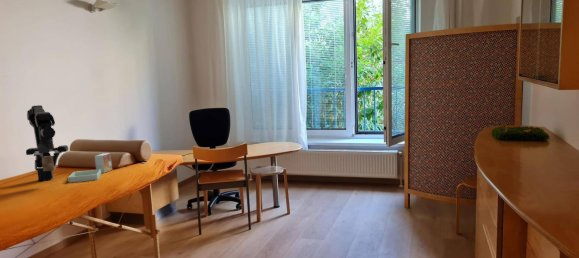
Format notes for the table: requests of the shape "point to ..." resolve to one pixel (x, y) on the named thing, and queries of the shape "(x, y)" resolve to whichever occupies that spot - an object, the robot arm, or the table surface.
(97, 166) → the small box
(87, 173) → the tray
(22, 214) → the table surface
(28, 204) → the table surface
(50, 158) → the walnut block
